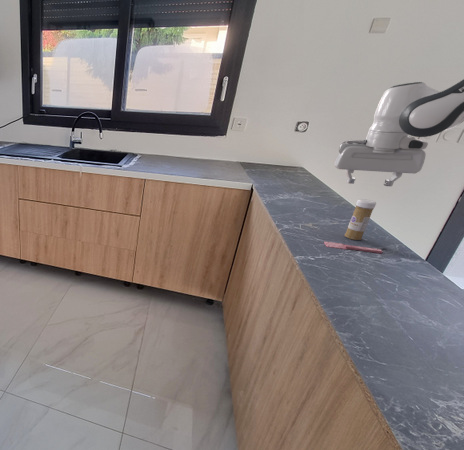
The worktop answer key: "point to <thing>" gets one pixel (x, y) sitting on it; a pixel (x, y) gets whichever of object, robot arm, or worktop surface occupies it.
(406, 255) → the worktop surface
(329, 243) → the spatula
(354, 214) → the sprinkles bottle
